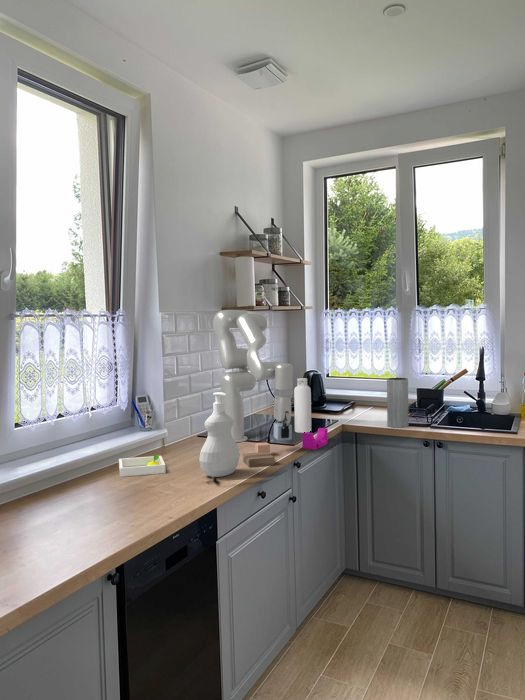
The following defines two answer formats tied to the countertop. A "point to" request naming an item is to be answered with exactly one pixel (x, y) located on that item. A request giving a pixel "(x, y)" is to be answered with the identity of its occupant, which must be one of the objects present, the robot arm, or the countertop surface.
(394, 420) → the vase
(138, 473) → the ceramic fruit dish rim
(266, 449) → the terracotta cube
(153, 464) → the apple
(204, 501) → the countertop surface
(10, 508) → the countertop surface
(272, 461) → the walnut base plate
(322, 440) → the toy block
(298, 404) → the bottle
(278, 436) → the slate block
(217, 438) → the soap bottle
